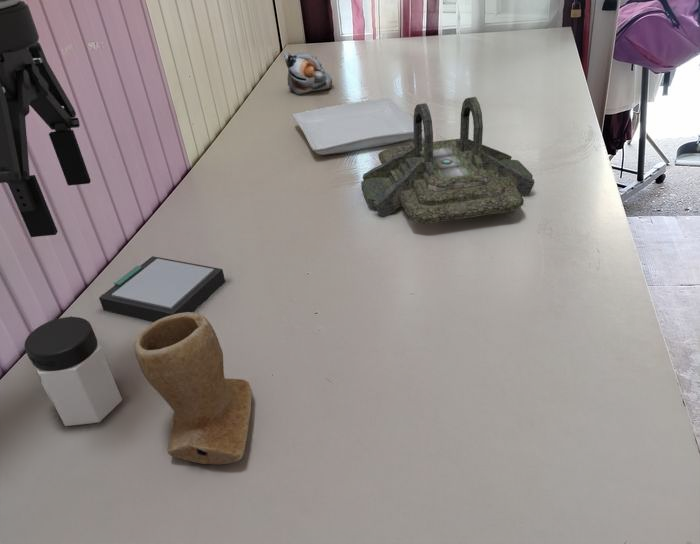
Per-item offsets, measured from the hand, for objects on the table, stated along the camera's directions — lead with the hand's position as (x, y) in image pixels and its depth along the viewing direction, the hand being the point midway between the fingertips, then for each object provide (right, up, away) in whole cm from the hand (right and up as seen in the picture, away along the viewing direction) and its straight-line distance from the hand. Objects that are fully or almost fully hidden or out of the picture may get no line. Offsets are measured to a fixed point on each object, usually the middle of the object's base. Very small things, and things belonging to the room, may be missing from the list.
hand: (63, 207), depth 74 cm
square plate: (+35, +37, +86) cm, 100 cm away
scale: (+2, -8, +33) cm, 34 cm away
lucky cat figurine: (+22, +62, +119) cm, 136 cm away
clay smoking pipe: (+15, -27, +7) cm, 32 cm away
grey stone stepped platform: (+53, +16, +56) cm, 79 cm away
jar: (-2, -24, +12) cm, 27 cm away
